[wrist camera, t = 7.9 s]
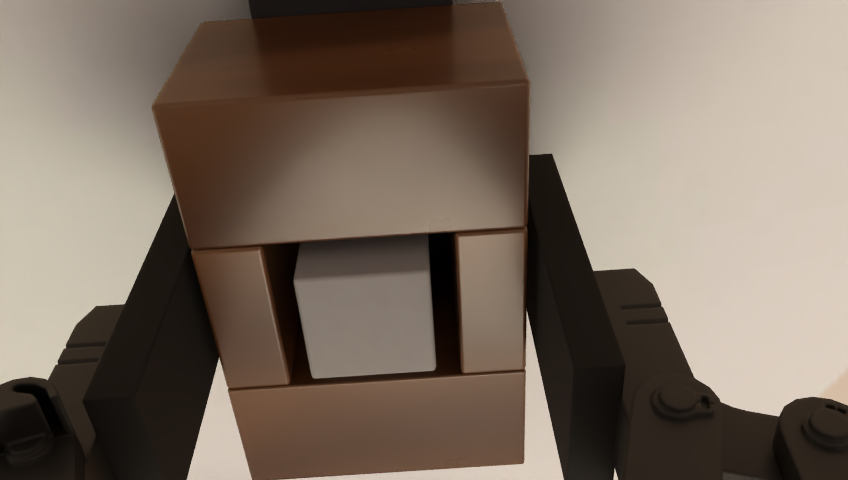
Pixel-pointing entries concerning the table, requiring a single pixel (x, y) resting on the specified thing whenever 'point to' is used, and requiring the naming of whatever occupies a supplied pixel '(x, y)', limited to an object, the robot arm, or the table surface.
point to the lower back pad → (364, 270)
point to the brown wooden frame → (358, 223)
